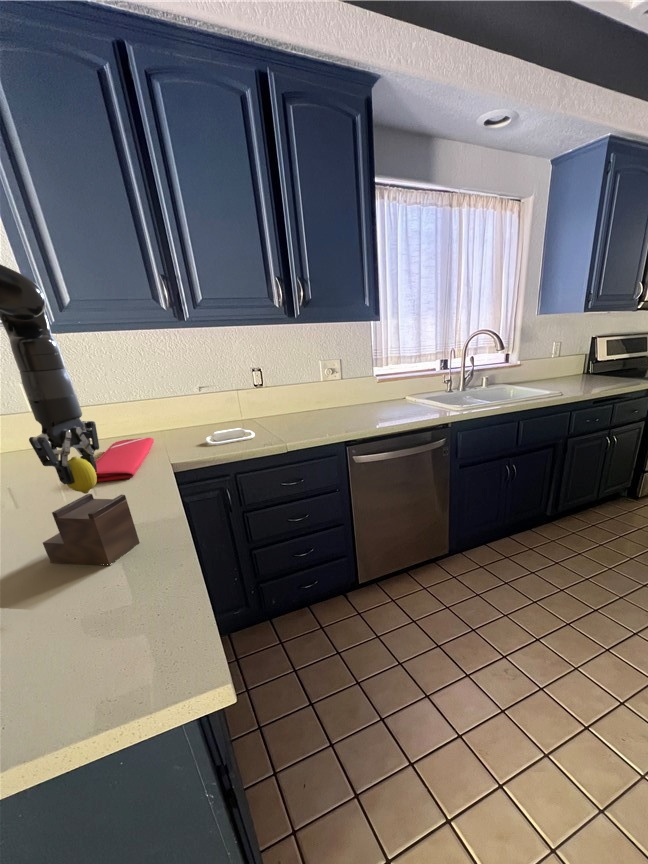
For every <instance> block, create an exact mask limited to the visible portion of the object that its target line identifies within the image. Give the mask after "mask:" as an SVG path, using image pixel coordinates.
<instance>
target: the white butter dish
mask: <svg viewBox="0 0 648 864" xmlns="http://www.w3.org/2000/svg"><path fill="white" fill-rule="evenodd" d="M246 433H247V434H250V435H249V436H245V434H246ZM255 436H256V434H255V432H254V431H252V430H249V429H243V428H241V427H236V428H231V429H230V428H229V429H224V430H218V431H213V434H212V435H209V436H207V437H206V438H205V442H206V443H207V444H208V445H211V446H219V445H220V446H221V445H226V444H232V443H237V442H242V441H247V440H248V441H249V440H251V439H253V438H255ZM211 439H212V440H213V441H211Z"/></svg>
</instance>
